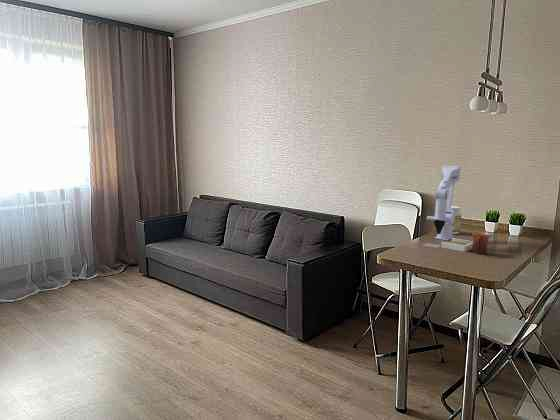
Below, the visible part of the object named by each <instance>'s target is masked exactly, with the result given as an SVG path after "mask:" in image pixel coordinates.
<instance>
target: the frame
mask: <svg viewBox="0 0 560 420" xmlns="http://www.w3.org/2000/svg"><path fill="white" fill-rule="evenodd" d="M451 241H454V242H460V243H465V244H467V245H465V246H464V245H458V244H452V243H447V242H448V241H447V242H445V241H441V242H440V243H441V244H440V245H441V246H440V248H441V249H442V248H443V249H448V250H449V249H450V250H453V251H459V252H465V253H467V252H468V251H470V250H472V243H473V240H469V239H462V238H455V237H453V238H452V239H451Z"/></svg>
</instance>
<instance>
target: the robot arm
mask: <svg viewBox="0 0 560 420" xmlns="http://www.w3.org/2000/svg"><path fill="white" fill-rule="evenodd" d="M461 170H462V169H461V166H460V165H446V164H443V166H442V167H441V175H442V180H441V181H440V182H439V185H438V187H437V189H436V190H435V193H434V197H435V198H434V199H435V207H434V216H433V215H427V216H426V221H427V220H429V221H433V224H434V227H435V230H436V234H437V235H436V236H435V237H434V239H439V240H442V241H443V240H444V241H451V240H452V238H454V237H453V234H452V230H453V227H452V225H451V224H453V223H454V220H455V212H454V211H453V210H452V209H451V206H452V202H453V196H454V190H455V185H456V183H457V182H459V180H460V177H461Z"/></svg>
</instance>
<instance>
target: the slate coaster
mask: <svg viewBox="0 0 560 420" xmlns="http://www.w3.org/2000/svg"><path fill="white" fill-rule="evenodd" d="M422 246H423V247H428V248H433V249H439V248H441V244H437V243H428V242H426V243H425V244H423V245H422Z"/></svg>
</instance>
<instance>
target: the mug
mask: <svg viewBox="0 0 560 420" xmlns="http://www.w3.org/2000/svg"><path fill="white" fill-rule="evenodd" d="M471 234H472V241H473V243H472V249H471V251H472V253H474V254H477V255H478V254H479V255H486V254H487V253H488V248H489V239H490V237H491V233H488V232H481V231H473V232H472V233H471Z"/></svg>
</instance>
